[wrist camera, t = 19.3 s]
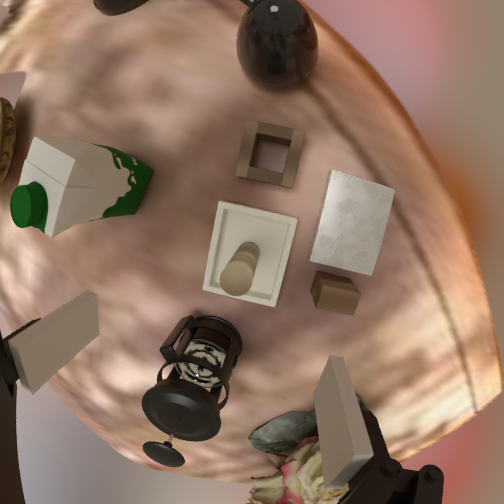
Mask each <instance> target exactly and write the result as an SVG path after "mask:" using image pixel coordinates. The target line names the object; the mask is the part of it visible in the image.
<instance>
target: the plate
mask: <svg viewBox="0 0 504 504" xmlns="http://www.w3.org/2000/svg"><path fill="white" fill-rule="evenodd" d="M394 192H395V189H392V188H389V187H386V186H383V185H380V184H377V183H374V182H371V181H368V180H365V179H362V178H359V177H356V176H352V175H349V174H346V173H342V172H339V171H335V170H330V171H329V174H328V179H327V183H326V187H325V192H324V196H323V200H322V204H321V208H320V213H319V217H318V221H317V225H316V228H315V232H314V236H313V240H312V244H311V248H310V251H309V255H308V259H309V261H312V262H316V263H320V264H324V265H328V266H333V267H337V268H341V269H345V270H349V271H353V272H357V273H362V274H366V275H370V276H372V274H373V270H374V267H375V264H376V261H377V258H378V254H379V251H380V247H381V244H382V240H383V237H384V233H385V229H386V226H387V222H388V218H389V214H390V210H391V205H392V201H393V197H394Z"/></svg>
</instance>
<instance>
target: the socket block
mask: <svg viewBox="0 0 504 504" xmlns="http://www.w3.org/2000/svg"><path fill="white" fill-rule="evenodd" d="M304 136H305V132H304V131H300V130H296V129H291V128H287V127H282V126H278V125H273V124H268V123H263V122H258V121H252V120H247V123H246V127H245V131H244V135H243V140H242V144H241V148H240V153H239V157H238V162H237V166H236V171H235V176H238V177H241V178H246V179H251V180H256V181H260V182H265V183H269V184H274V185H278V186H283V187H287V188H291V189H292V188H293V186H294V182H295V177H296V173H297V168H298V164H299V159H300V155H301V150H302V146H303V141H304ZM258 139H262V140H267V141H272V142H277V143H281V144H286V145H290V147H289V152H288V156H287V161H286V165H285V170H284V174H283V173H278V172H274V171H269V170H265V169H260V168H255V167H252V165H253V161H254V157H255V152H256V148H257V143H258Z"/></svg>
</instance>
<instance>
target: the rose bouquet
mask: <svg viewBox="0 0 504 504" xmlns="http://www.w3.org/2000/svg"><path fill="white" fill-rule="evenodd" d="M356 397H357V400H358V404H359V407H360V410H367V409H366V407H365V406H364V405H363V404H362V401H361V400H360V398H359V397H358V396H357V395H356ZM317 429H318V426H317V418H316V411H315V410H313V411H312V412H311V413H305V412H296V411H291V412H289V413H286V414H284V415H282V416H278V417H277V418H274V420H271V421H269V423H267V424H266V425H264V426H263V427H261V428H260V429H258V430H256V431H254V433H253V434H252V436H251V437H248V439H249V440H250V442H251V443H252V445H253V446H254V447H255V448H257V449H259V450H262V451H264V452H266V454H267V456H268V457H269V458H270V459H271V460H272V461H273V463H274V464H275V466H276V469H278V470H280V471H278V472H276V473H275V474H274V475H272V476H268V477H259V478H254V477H251V480H252V482H253V483H254V487H253V489H252V490H251V491H250V492H249V493H252V494H251V498H249V499H248V500H249V501H251V502H250V503H246V504H337V502H338V501H339V500H338V499H340V498H341V497H342V496H343V495H344V494H345V493H346V492H347V491H348V490H349V487H348V483H347V484H346V485H345V486H344V487H343V488H342V489H324V481H323V470H322V461H321V452H320V443H319V434H318V436H313V435H314V432H315V430H317Z"/></svg>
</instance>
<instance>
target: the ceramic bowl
mask: <svg viewBox="0 0 504 504" xmlns="http://www.w3.org/2000/svg"><path fill="white" fill-rule="evenodd" d="M15 138H16V118H15V113H14V110H13V107H12V105H11V104H10V102H9V101H8V100H6V99H4V98H1V97H0V186H1V185H2V183H3V181H4V179H5V177H6V174H7V172H8V169H9V166H10V163H11V159H12V156H13V151H14V145H15Z"/></svg>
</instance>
